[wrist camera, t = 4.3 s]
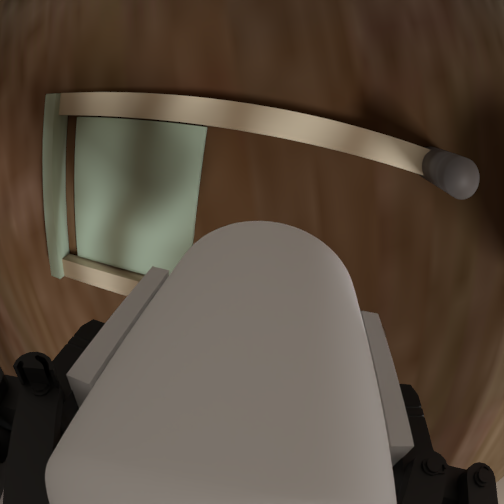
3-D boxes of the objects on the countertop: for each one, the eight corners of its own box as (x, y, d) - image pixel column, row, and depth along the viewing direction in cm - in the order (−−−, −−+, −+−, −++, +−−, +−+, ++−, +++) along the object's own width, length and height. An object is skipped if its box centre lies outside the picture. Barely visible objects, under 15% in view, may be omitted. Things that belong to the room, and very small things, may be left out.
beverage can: (166, 215, 13) (-54, 450, 2) (362, 217, 12) (491, 552, 1) (189, 359, 17) (109, 564, 6) (341, 367, 16) (350, 598, 5)
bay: (62, 269, 28) (31, 295, 23) (60, 89, 20) (18, 92, 16) (376, 346, 26) (385, 387, 21) (449, 152, 18) (483, 165, 14)
